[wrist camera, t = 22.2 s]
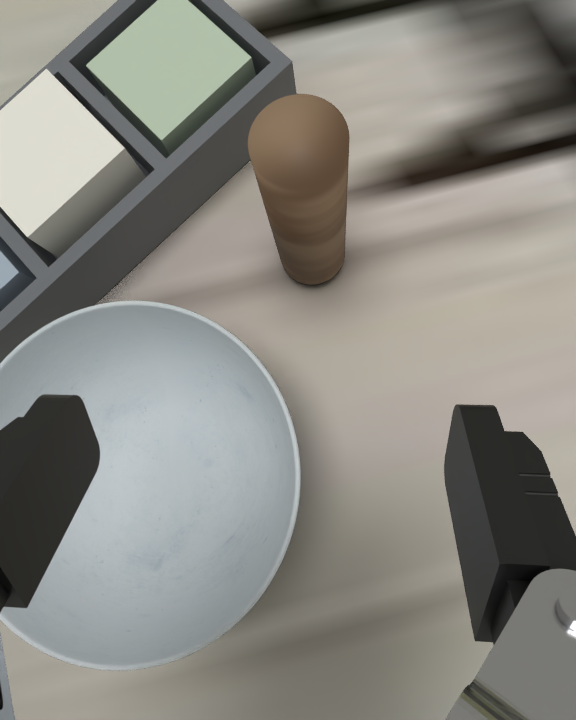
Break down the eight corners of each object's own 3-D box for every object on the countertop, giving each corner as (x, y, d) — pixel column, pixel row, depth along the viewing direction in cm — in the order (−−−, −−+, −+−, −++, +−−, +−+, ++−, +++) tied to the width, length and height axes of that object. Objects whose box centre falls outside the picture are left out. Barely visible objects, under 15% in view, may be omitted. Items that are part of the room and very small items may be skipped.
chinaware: (8, 547, 30) (-107, 582, 22) (110, 302, 31) (35, 256, 24) (254, 656, 27) (220, 738, 20) (349, 386, 29) (352, 365, 21)
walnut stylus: (269, 260, 31) (227, 143, 19) (313, 218, 31) (298, 75, 19) (313, 302, 30) (297, 207, 18) (357, 258, 30) (370, 136, 18)
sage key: (113, 105, 32) (85, 65, 29) (190, 35, 32) (172, -14, 29) (181, 174, 31) (161, 140, 27) (261, 100, 31) (251, 57, 28)
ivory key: (-3, 186, 30) (-48, 153, 27) (79, 110, 31) (46, 68, 27) (64, 261, 29) (27, 237, 26) (150, 182, 29) (124, 147, 26)
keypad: (-108, 291, 33) (-178, 267, 28) (192, 17, 34) (169, -47, 29) (-16, 406, 31) (-76, 400, 27) (299, 114, 32) (292, 61, 27)
